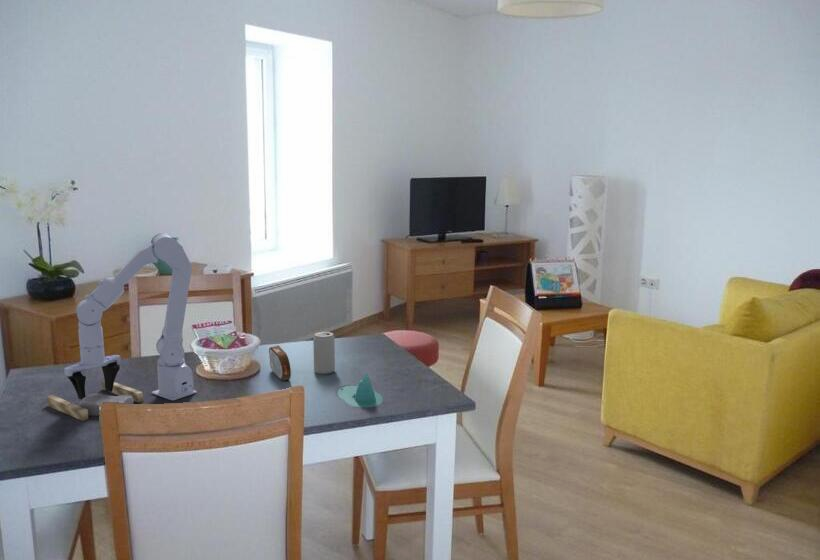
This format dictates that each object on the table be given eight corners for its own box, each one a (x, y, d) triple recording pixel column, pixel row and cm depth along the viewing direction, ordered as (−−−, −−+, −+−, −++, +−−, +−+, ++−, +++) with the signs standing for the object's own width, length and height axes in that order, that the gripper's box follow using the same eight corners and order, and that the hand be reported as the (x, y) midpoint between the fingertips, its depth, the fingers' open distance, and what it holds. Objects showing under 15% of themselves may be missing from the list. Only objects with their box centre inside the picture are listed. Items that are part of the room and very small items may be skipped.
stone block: (95, 409, 186) (74, 416, 176) (96, 391, 186) (75, 397, 176) (138, 412, 185) (120, 419, 175) (139, 394, 185) (121, 400, 175)
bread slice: (292, 383, 202) (291, 355, 200) (281, 384, 200) (280, 356, 199) (277, 368, 215) (277, 342, 213) (267, 369, 214) (267, 343, 212)
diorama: (365, 382, 204) (365, 354, 202) (394, 405, 186) (394, 375, 184) (326, 389, 198) (325, 360, 197) (352, 413, 181) (352, 381, 179)
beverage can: (338, 372, 211) (338, 334, 209) (319, 376, 207) (319, 337, 205) (329, 367, 216) (328, 330, 214) (310, 370, 213) (309, 333, 210)
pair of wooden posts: (143, 401, 186) (142, 392, 186) (82, 420, 173) (81, 411, 172) (107, 387, 196) (106, 379, 196) (47, 405, 182) (46, 396, 182)
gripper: (108, 336, 189) (112, 384, 192) (56, 349, 178) (60, 399, 180) (123, 341, 185) (127, 389, 188) (71, 354, 174) (75, 405, 176)
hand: (95, 394), depth 184 cm, fingers open, 7 cm apart
